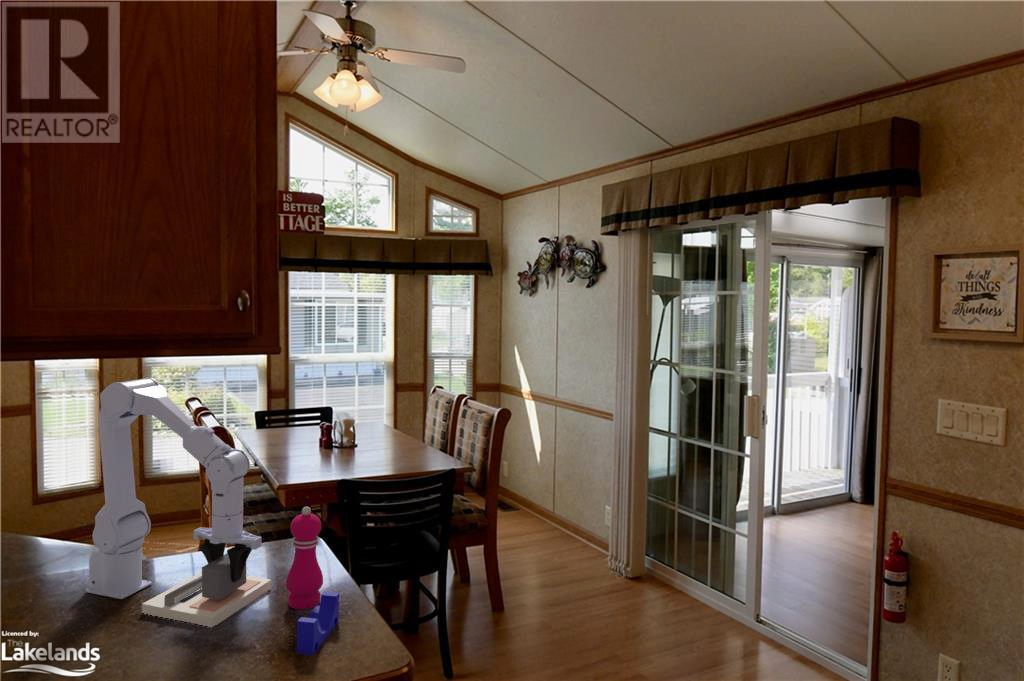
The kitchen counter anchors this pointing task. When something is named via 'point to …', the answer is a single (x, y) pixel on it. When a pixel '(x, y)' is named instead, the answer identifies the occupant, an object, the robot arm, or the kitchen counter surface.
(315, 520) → the pepper mill
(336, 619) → the cable clip
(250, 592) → the cream flat slotted block
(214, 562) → the gray block
